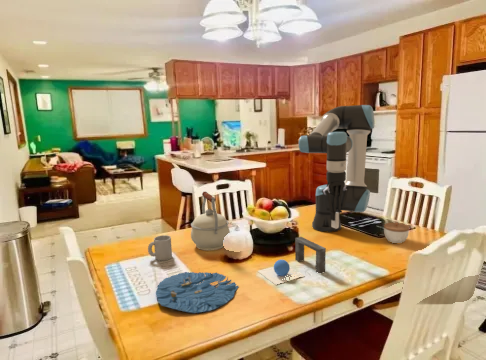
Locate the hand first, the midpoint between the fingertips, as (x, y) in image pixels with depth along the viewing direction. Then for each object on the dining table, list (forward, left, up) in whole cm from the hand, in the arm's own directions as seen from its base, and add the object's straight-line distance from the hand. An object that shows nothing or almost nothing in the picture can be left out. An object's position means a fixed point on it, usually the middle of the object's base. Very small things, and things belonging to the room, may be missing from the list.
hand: (334, 227), depth 140 cm
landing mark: (0, -27, -14) cm, 30 cm away
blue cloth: (-5, -60, -15) cm, 62 cm away
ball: (+1, -27, -11) cm, 29 cm away
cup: (-40, -63, -14) cm, 76 cm away
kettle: (-44, -38, -14) cm, 60 cm away
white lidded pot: (0, +38, -14) cm, 40 cm away
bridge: (0, -13, -14) cm, 19 cm away
